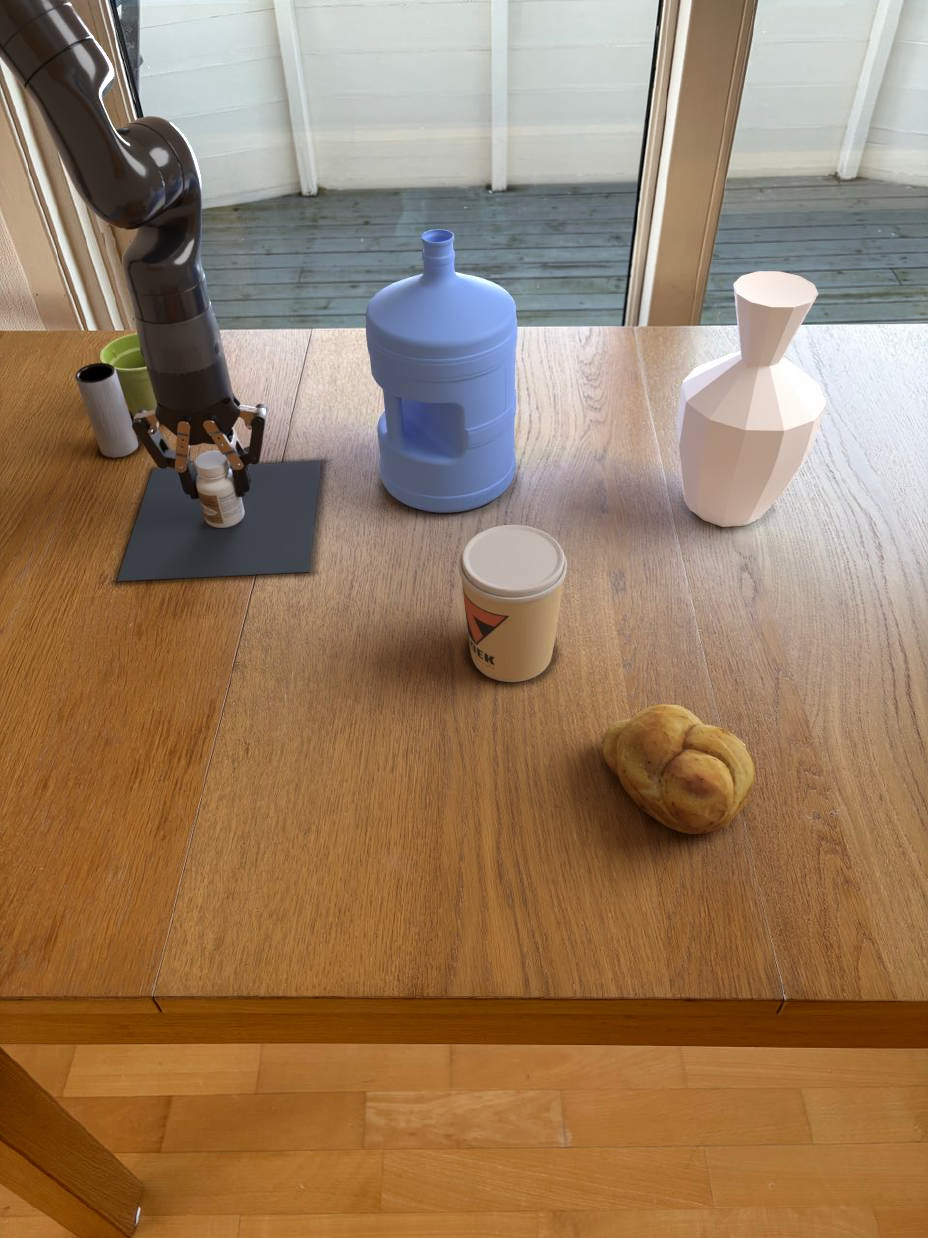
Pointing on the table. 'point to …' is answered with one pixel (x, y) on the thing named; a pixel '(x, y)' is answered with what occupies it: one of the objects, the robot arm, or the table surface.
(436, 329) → the water jug
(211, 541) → the mat
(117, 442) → the white cylinder
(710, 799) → the bread roll
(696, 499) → the vase
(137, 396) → the plant pot
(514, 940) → the table surface
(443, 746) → the table surface
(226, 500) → the pill bottle
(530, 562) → the coffee cup
